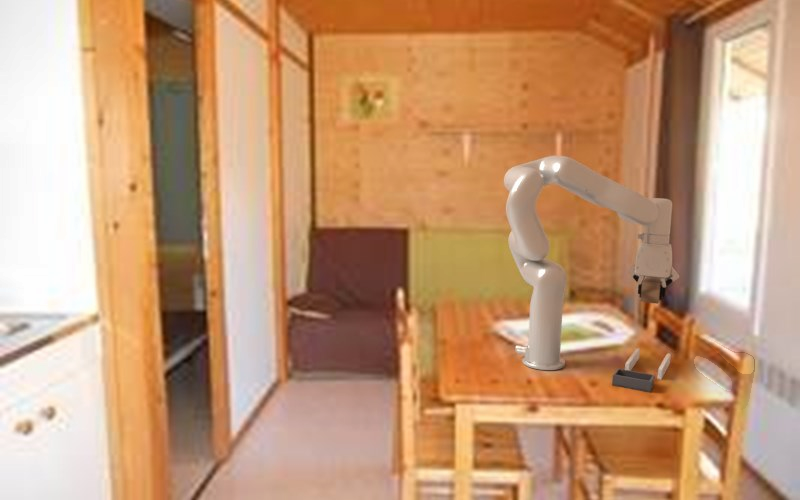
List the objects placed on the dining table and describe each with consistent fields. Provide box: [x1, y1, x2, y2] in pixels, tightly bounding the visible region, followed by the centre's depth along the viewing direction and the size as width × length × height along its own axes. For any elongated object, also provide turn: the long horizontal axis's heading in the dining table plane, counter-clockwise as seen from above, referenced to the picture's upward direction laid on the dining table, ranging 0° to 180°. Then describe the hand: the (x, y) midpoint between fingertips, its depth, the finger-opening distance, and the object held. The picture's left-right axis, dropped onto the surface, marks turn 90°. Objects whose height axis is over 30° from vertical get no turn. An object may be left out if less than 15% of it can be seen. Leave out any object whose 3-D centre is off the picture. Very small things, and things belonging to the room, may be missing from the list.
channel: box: [624, 347, 672, 381], centre depth 195 cm, size 10×16×3 cm, turn 150°
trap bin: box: [611, 368, 656, 393], centre depth 182 cm, size 10×6×3 cm, turn 60°
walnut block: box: [640, 276, 662, 305], centre depth 202 cm, size 5×10×6 cm, turn 151°
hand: (651, 297), depth 202 cm, fingers closed on walnut block, 5 cm apart
